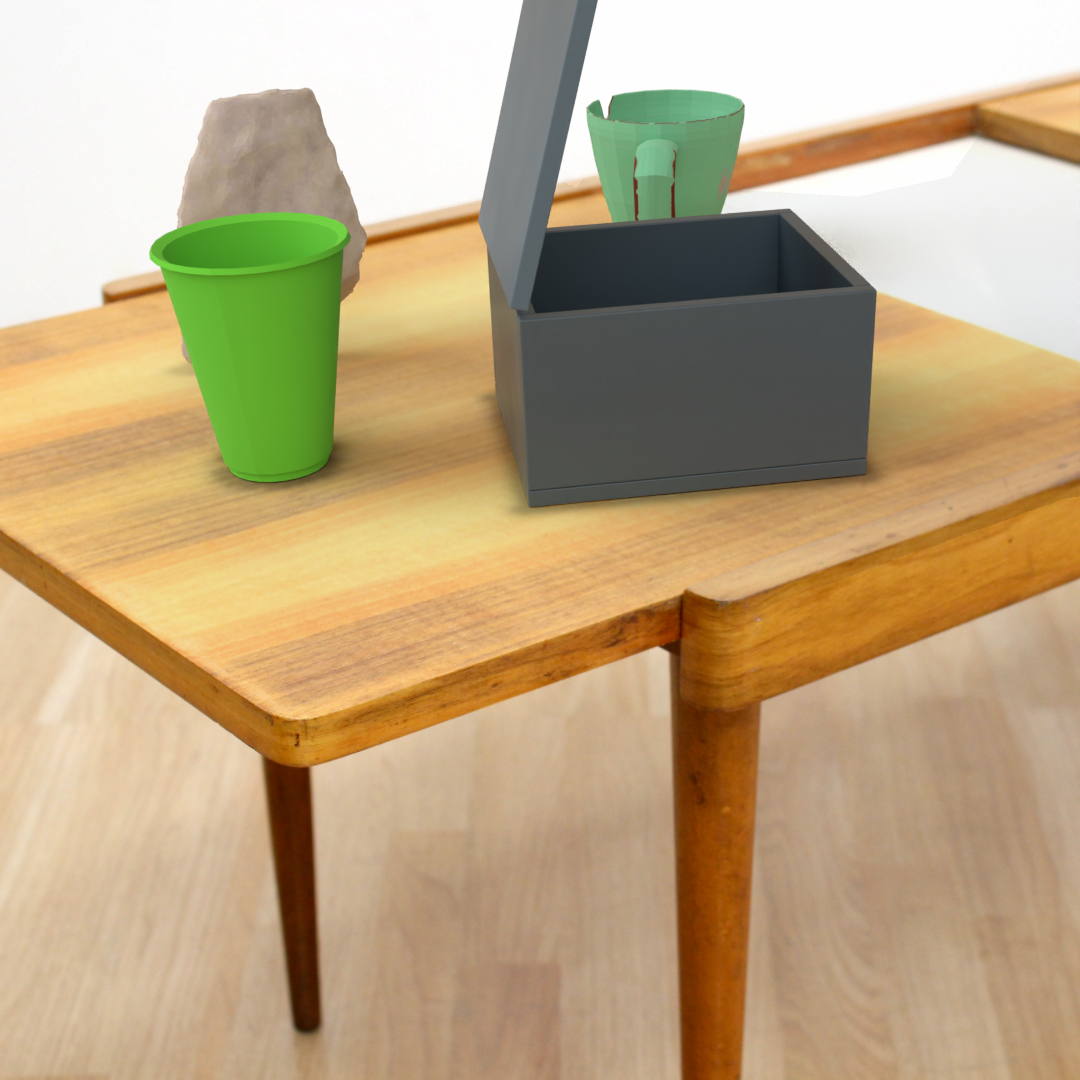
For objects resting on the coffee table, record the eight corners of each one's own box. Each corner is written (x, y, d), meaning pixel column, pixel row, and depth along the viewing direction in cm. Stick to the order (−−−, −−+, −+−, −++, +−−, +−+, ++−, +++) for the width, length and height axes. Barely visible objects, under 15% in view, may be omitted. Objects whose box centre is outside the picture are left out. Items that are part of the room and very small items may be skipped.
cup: (396, 428, 78) (376, 213, 73) (335, 507, 70) (308, 272, 65) (230, 419, 80) (199, 209, 75) (152, 495, 72) (112, 266, 67)
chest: (784, 369, 83) (790, 207, 79) (866, 474, 71) (877, 289, 67) (495, 396, 81) (485, 231, 77) (529, 507, 69) (519, 320, 65)
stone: (181, 373, 86) (137, 99, 79) (195, 352, 89) (154, 86, 82) (373, 368, 86) (346, 91, 79) (381, 347, 89) (356, 79, 82)
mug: (597, 239, 106) (593, 90, 101) (742, 239, 105) (745, 87, 100) (575, 311, 93) (569, 143, 88) (740, 311, 92) (743, 141, 87)
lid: (566, -125, 70) (549, -129, 70) (620, -100, 58) (600, -105, 58) (493, 224, 77) (477, 221, 77) (528, 311, 65) (509, 308, 65)
